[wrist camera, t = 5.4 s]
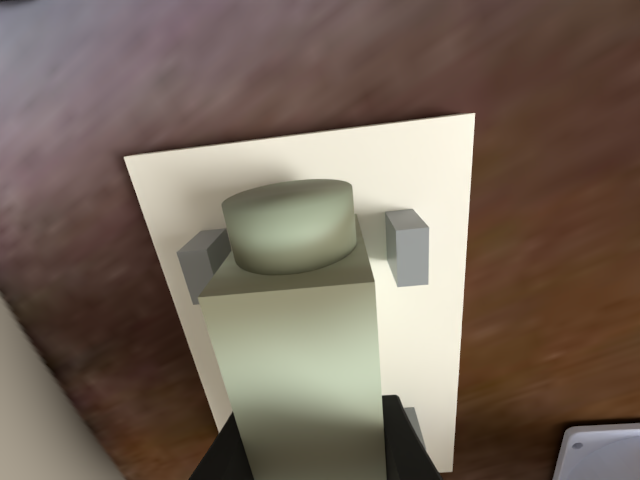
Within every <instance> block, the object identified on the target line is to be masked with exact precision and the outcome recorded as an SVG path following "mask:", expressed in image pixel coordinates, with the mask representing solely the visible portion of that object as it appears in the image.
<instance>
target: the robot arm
mask: <svg viewBox="0 0 640 480" xmlns="http://www.w3.org/2000/svg"><path fill="white" fill-rule="evenodd" d="M382 408H383V425H384V441H385V458H386V475H387V480H443V478H442V477H441V475H440V474H439V472H438V470H437V469H436V467H435V465H434V464H433V462H432V460H431V459H430V457H429V455H428V453H427V452H426V450H425V448H424V447H423V445H422V443H421V441H420V439H419V438H418V436H417V434H416V432H415V430H414V428H413V426H412V424H411V422H410V420H409V418H408V416H407V414H406V412H405V410H404V408H403V405H402V403H401V400H400V398H399V396H397V395H382ZM189 480H254V478H253V474H252V471H251V468H250V465H249V461H248V458H247V455H246V452H245V449H244V445H243V442H242V439H241V436H240V433H239V429H238V426H237V423H236V420H235V416H234V413H233V411H232V413H231V415H230V416H229V418H228V420H227V421H226V423H225V425H224V426H223V428H222V429H221V431H220V433H219V434H218V436H217V437H216V439H215V440H214V442H213V444H212V445H211V447H210V448H209V450H208V451H207V453H206V454H205V456H204V457H203V459H202V460H201V462H200V463H199V465H198V466H197V468H196V469H195V471H194V472H193V474H192V475H191V477H190V478H189ZM553 480H640V423H629V424H609V425H590V426H574V427H570V428H568V429H567V430H566V431H565V433H564V437H563V441H562V445H561V449H560V453H559V457H558V460H557V464H556V468H555V472H554V476H553Z"/></svg>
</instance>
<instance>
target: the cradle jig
mask: <svg viewBox="0 0 640 480" xmlns="http://www.w3.org/2000/svg"><path fill="white" fill-rule="evenodd" d="M474 121H475V113H462V114H454V115H446V116H438V117H430V118H422V119H414V120H406V121H397V122H389V123H381V124H373V125H365V126H357V127H349V128H341V129H333V130H325V131H317V132H309V133H301V134H293V135H285V136H277V137H269V138H261V139H253V140H245V141H237V142H229V143H221V144H213V145H205V146H197V147H189V148H181V149H173V150H165V151H157V152H149V153H141V154H136V155H131V156H126V157H124V160H125V163H126V166H127V169H128V172H129V175H130V177H131V180H132V183H133V186H134V189H135V192H136V195H137V198H138V201H139V203H140V206H141V209H142V212H143V215H144V218H145V221H146V224H147V226H148V229H149V232H150V235H151V238H152V241H153V244H154V247H155V250H156V252H157V255H158V258H159V261H160V264H161V267H162V270H163V273H164V276H165V278H166V281H167V284H168V287H169V290H170V293H171V296H172V299H173V301H174V304H175V307H176V310H177V313H178V316H179V319H180V322H181V325H182V327H183V330H184V333H185V336H186V339H187V342H188V345H189V348H190V351H191V353H192V356H193V359H194V362H195V365H196V368H197V371H198V374H199V376H200V379H201V382H202V385H203V388H204V391H205V394H206V397H207V400H208V402H209V405H210V408H211V411H212V414H213V417H214V420H215V423H216V426H217V428H218V431H219V433H220V431H221V429H222V428H223V426H224V425H225V423H226V421H227V420H228V418H229V416H230V415H231V413H232V411H233V410H232V407H231V404H230V400H229V397H228V394H227V391H226V387H225V384H224V381H223V378H222V375H221V371H220V368H219V365H218V362H217V359H216V355H215V352H214V349H213V346H212V342H211V339H210V336H209V333H208V330H207V326H206V323H205V320H204V317H203V313H202V310H201V307H200V304H199V301H198V296H199V295H200V294H201V292H202V291H203V289H204V288H205V287H206V285H207V284H208V283H209V281H210V280H211V278H212V277H213V276H214V274H215V273H216V272H217V270H218V269H219V268H220V266H221V265H222V263H223V262H224V261H225V259H226V258H227V257H228V255H229V254H230V252H231V251H232V247H231V243H230V239H229V235H228V231H227V227H226V223H225V219H224V214H223V210H222V206H221V204H222V202H223V201H224V200H226V199H227V198H229V197H231V196H233V195H235V194H237V193H240V192H243V191H246V190H249V189H253V188H256V187H260V186H265V185H269V184H275V183H280V182H287V181H295V180H306V179H335V180H342V181H346V182H348V183H350V184H351V185H352V189H353V201H354V214H357V217H358V221H359V225H360V228H361V232H362V236H363V239H364V243H365V247H366V251H367V254H368V258H369V262H370V265H371V269H372V273H373V277H374V280H375V291H376V308H377V324H378V341H379V358H380V375H381V391H382V395H397V396H399V398H400V400H401V403H402V405H403V408H404V410H405V412H406V414H407V416H408V418H409V420H410V422H411V424H412V426H413V428H414V430H415V432H416V434H417V436H418V438H419V439H420V441H421V443H422V445H423V447H424V448H425V450H426V452H427V453H428V455H429V457H430V459H431V460H432V462H433V464H434V465H435V467H436V469H437V470H438V472H452V469H453V454H454V438H455V422H456V406H457V390H458V374H459V359H460V343H461V327H462V311H463V295H464V280H465V264H466V248H467V232H468V216H469V200H470V185H471V169H472V153H473V137H474Z"/></svg>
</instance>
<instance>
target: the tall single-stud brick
mask: <svg viewBox="0 0 640 480" xmlns="http://www.w3.org/2000/svg"><path fill="white" fill-rule="evenodd" d="M221 206H222V210H223V214H224V219H225V223H226V227H227V231H228V235H229V239H230V243H231V247H232V251H231V252H230V254H229V255H228V257H227V258H226V259H225V261H224V262H223V263H222V265H221V266H220V268H219V269H218V270H217V272H216V273H215V274H214V276H213V277H212V278H211V280H210V281H209V283H208V284H207V285H206V287H205V288H204V289H203V291H202V292H201V294H200V295H199V296H198V301H199V304H200V307H201V310H202V313H203V317H204V320H205V323H206V326H207V330H208V333H209V336H210V339H211V342H212V346H213V349H214V352H215V355H216V359H217V362H218V365H219V368H220V371H221V375H222V378H223V381H224V384H225V387H226V391H227V394H228V397H229V400H230V404H231V407H232V410H233V413H234V416H235V420H236V423H237V426H238V429H239V433H240V436H241V439H242V442H243V445H244V449H245V452H246V455H247V458H248V461H249V465H250V468H251V471H252V474H253V478H254V480H387V475H386V458H385V441H384V425H383V408H382V391H381V375H380V358H379V341H378V324H377V308H376V291H375V280H374V277H373V273H372V269H371V265H370V262H369V258H368V254H367V251H366V247H365V243H364V239H363V236H362V232H361V228H360V225H359V221H358V217H357V214H354V201H353V189H352V185H351V184H350V183H348V182H346V181H342V180H335V179H306V180H295V181H287V182H280V183H275V184H269V185H265V186H260V187H256V188H253V189H249V190H246V191H243V192H240V193H237V194H235V195H233V196H231V197H229V198H227V199H226V200H224V201H223V202H222V204H221Z"/></svg>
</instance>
